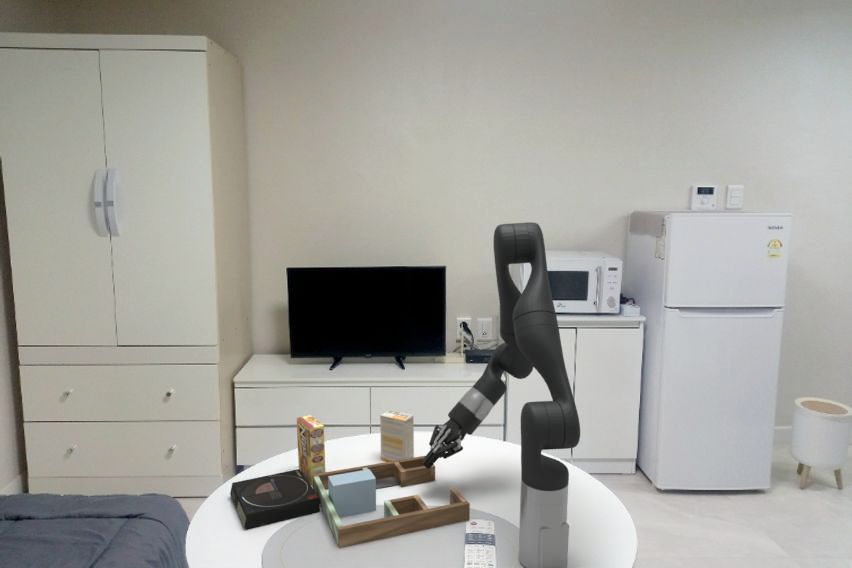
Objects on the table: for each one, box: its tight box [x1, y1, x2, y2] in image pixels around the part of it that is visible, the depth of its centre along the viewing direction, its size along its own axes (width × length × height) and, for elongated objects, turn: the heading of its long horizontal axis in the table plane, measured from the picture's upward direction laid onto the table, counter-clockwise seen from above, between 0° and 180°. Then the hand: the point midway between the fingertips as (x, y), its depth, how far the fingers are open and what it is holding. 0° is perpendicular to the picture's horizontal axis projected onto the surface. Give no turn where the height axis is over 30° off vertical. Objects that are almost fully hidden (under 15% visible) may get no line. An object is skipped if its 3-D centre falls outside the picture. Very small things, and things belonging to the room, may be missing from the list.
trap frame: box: [312, 455, 471, 549], centre depth 147 cm, size 27×30×4 cm
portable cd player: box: [229, 468, 321, 531], centre depth 147 cm, size 16×17×4 cm
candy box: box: [296, 414, 326, 487], centre depth 159 cm, size 9×4×15 cm, turn 34°
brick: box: [327, 469, 377, 518], centre depth 144 cm, size 5×10×8 cm, turn 112°
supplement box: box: [379, 409, 415, 462], centre depth 170 cm, size 8×5×13 cm, turn 58°
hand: (424, 465), depth 150 cm, fingers closed
